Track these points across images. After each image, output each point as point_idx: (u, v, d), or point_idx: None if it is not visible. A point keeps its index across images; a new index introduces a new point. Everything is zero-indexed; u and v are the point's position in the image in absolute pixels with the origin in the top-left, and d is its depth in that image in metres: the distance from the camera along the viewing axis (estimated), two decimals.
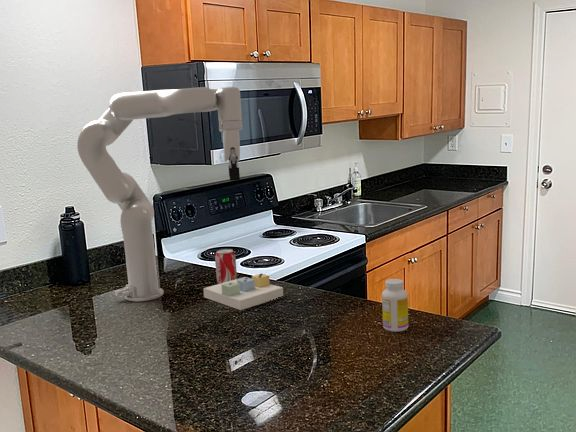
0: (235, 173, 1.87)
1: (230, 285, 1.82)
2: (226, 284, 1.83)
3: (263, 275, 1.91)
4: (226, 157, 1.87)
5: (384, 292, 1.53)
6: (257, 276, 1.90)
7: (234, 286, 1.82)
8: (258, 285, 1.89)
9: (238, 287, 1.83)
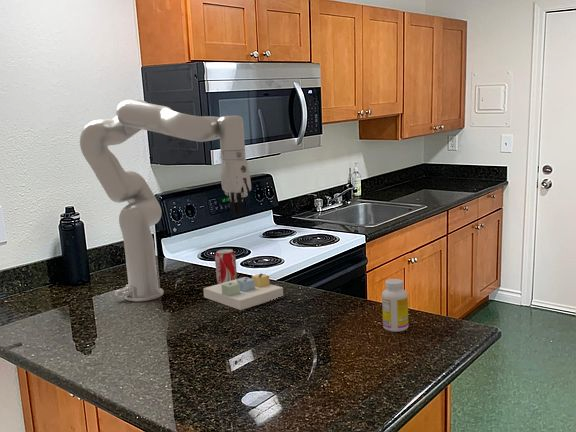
0: None
1: (230, 285, 1.82)
2: (226, 284, 1.83)
3: (263, 275, 1.91)
4: None
5: (384, 292, 1.53)
6: (257, 276, 1.90)
7: (234, 286, 1.82)
8: (258, 285, 1.89)
9: (238, 287, 1.83)
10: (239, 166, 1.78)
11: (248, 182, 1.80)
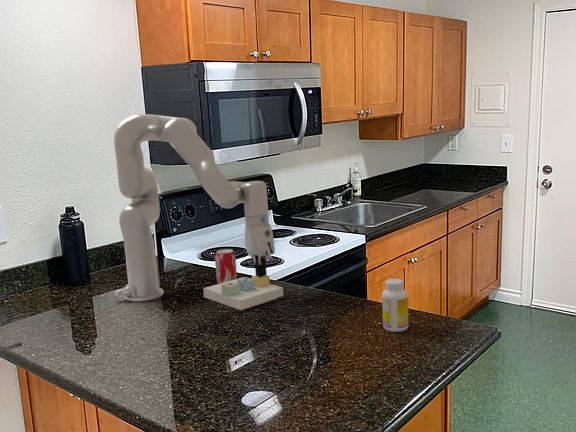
0: None
1: (230, 285, 1.82)
2: (226, 284, 1.83)
3: None
4: None
5: (384, 292, 1.53)
6: (257, 276, 1.90)
7: (234, 286, 1.82)
8: (258, 285, 1.89)
9: (238, 287, 1.83)
10: (263, 231, 1.84)
11: (272, 246, 1.86)
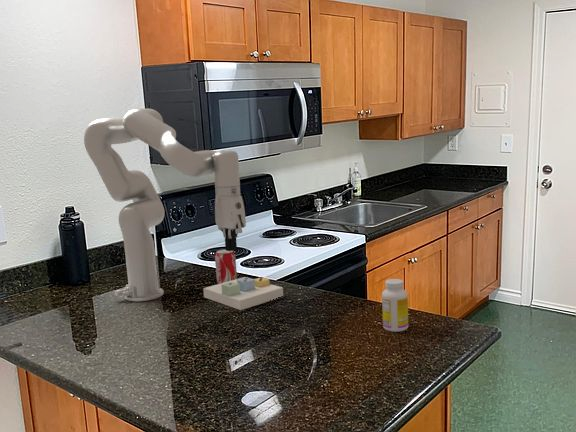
0: None
1: (230, 285, 1.82)
2: (226, 284, 1.83)
3: (263, 279, 1.91)
4: None
5: (384, 292, 1.53)
6: (257, 280, 1.91)
7: (234, 286, 1.82)
8: None
9: (238, 287, 1.83)
10: (234, 203, 1.76)
11: (242, 219, 1.78)
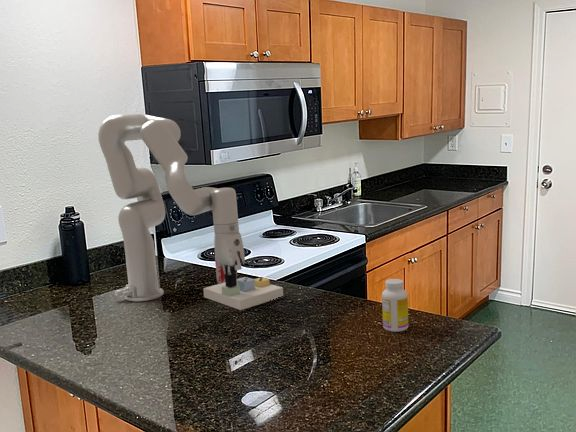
0: None
1: (230, 287, 1.82)
2: None
3: (263, 279, 1.91)
4: None
5: (384, 292, 1.53)
6: (257, 280, 1.91)
7: (234, 288, 1.82)
8: None
9: (238, 289, 1.83)
10: (232, 240, 1.76)
11: (241, 255, 1.78)
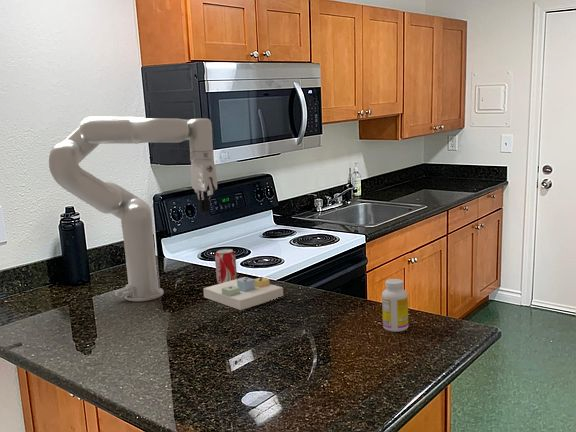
0: None
1: (230, 289, 1.82)
2: (226, 288, 1.83)
3: (263, 279, 1.91)
4: None
5: (384, 292, 1.53)
6: (257, 280, 1.91)
7: (234, 290, 1.82)
8: None
9: (238, 291, 1.83)
10: (205, 166, 1.90)
11: (214, 181, 1.92)
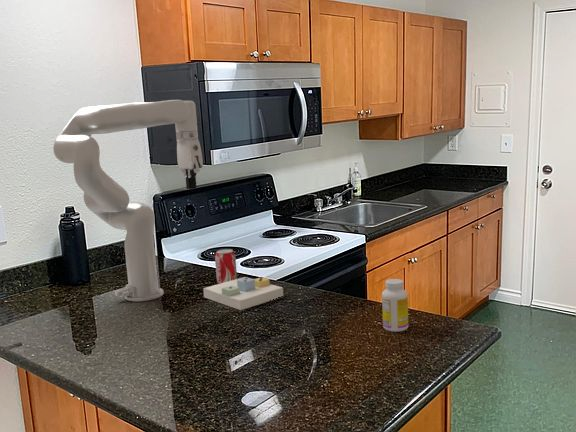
0: None
1: (230, 289, 1.82)
2: (226, 288, 1.83)
3: (263, 279, 1.91)
4: None
5: (384, 292, 1.53)
6: (257, 280, 1.91)
7: (234, 290, 1.82)
8: None
9: (238, 291, 1.83)
10: (191, 145, 2.02)
11: (200, 160, 2.04)
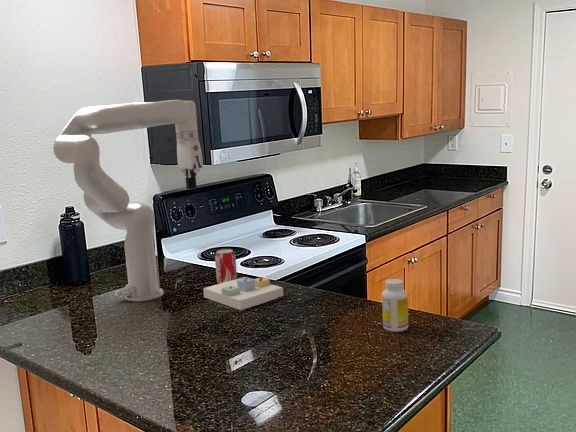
0: None
1: (230, 289, 1.82)
2: (226, 288, 1.83)
3: (263, 279, 1.91)
4: None
5: (384, 292, 1.53)
6: (257, 280, 1.91)
7: (234, 290, 1.82)
8: None
9: (238, 291, 1.83)
10: (191, 145, 2.02)
11: (200, 160, 2.04)
